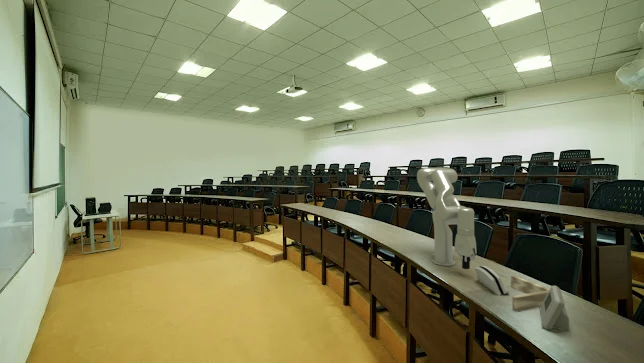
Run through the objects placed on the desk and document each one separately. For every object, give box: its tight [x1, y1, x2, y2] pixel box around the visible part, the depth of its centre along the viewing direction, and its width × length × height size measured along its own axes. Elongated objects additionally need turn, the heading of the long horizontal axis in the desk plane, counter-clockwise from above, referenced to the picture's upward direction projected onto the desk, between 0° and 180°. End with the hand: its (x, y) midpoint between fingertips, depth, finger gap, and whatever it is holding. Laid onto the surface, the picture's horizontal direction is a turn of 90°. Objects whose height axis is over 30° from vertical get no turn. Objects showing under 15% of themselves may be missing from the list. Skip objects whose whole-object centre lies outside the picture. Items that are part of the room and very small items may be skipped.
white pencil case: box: [474, 265, 511, 296], centre depth 124 cm, size 17×5×10 cm, turn 177°
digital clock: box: [539, 285, 570, 332], centre depth 95 cm, size 16×9×11 cm, turn 132°
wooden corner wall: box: [510, 275, 550, 312], centre depth 113 cm, size 18×20×5 cm
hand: (465, 268), depth 138 cm, fingers closed
